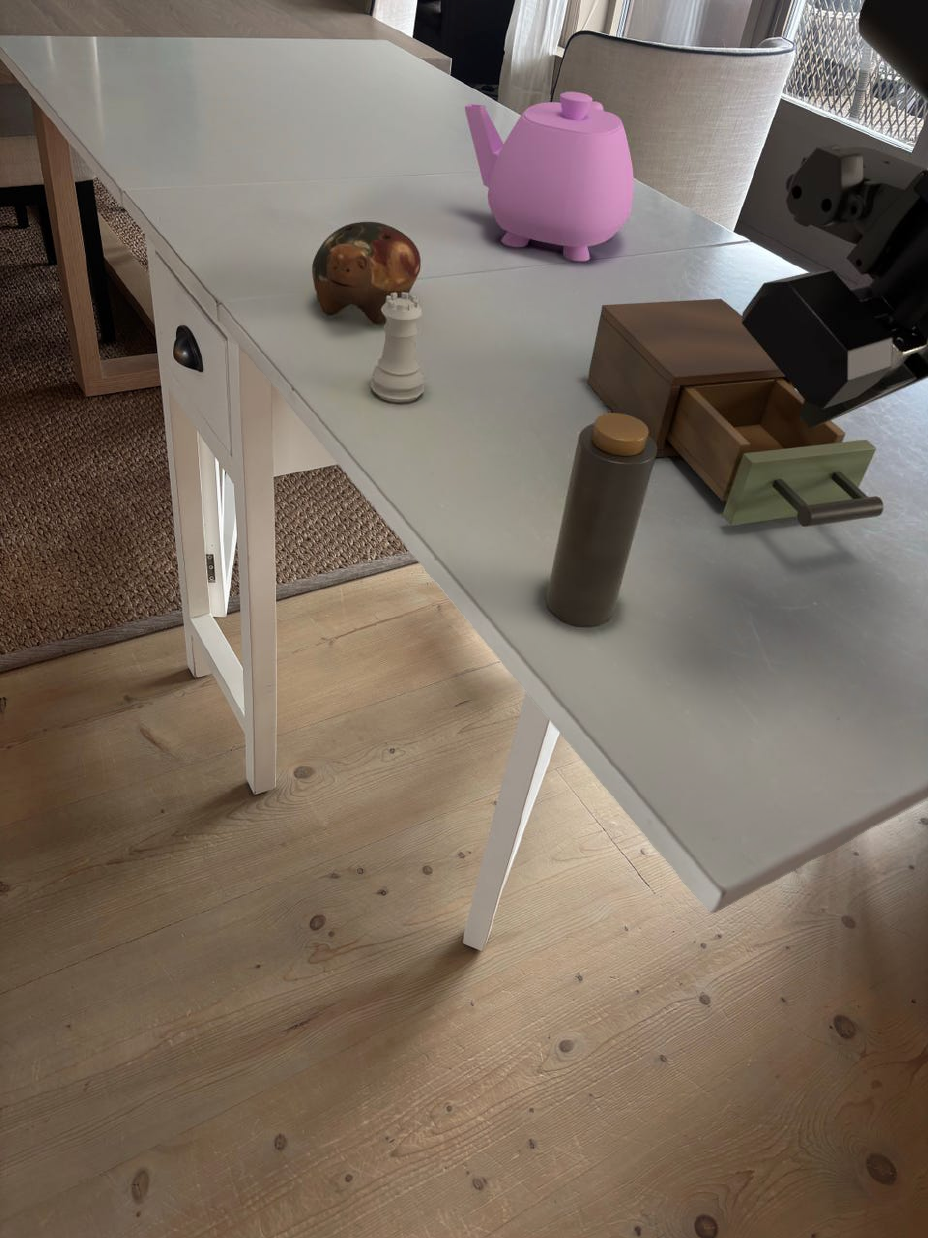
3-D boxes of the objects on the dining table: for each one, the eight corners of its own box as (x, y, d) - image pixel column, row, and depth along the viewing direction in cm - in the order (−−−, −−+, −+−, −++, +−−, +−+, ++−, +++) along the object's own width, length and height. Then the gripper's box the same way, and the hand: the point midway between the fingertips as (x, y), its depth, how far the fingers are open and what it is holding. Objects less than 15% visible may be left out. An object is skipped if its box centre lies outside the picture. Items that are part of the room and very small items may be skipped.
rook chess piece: (383, 408, 76) (387, 314, 71) (362, 382, 79) (364, 290, 74) (433, 400, 78) (440, 307, 73) (410, 375, 81) (416, 284, 76)
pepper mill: (627, 612, 60) (678, 435, 52) (576, 635, 58) (619, 455, 49) (583, 574, 63) (623, 399, 54) (532, 595, 61) (566, 416, 52)
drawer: (889, 547, 67) (920, 484, 63) (766, 566, 64) (791, 502, 60) (765, 429, 78) (786, 371, 74) (655, 441, 75) (671, 380, 71)
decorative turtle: (294, 334, 84) (289, 242, 80) (339, 282, 96) (337, 199, 92) (399, 347, 84) (401, 254, 79) (432, 292, 96) (435, 209, 91)
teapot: (487, 190, 119) (502, 55, 109) (641, 223, 116) (670, 87, 106) (432, 238, 105) (443, 88, 95) (604, 278, 101) (635, 126, 91)
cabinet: (775, 444, 78) (803, 366, 73) (652, 458, 75) (674, 376, 70) (700, 372, 87) (721, 298, 82) (586, 381, 83) (602, 304, 78)
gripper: (1007, 61, 48) (822, 295, 61) (769, 80, 39) (611, 350, 52) (1165, 209, 45) (934, 424, 58) (944, 267, 36) (729, 506, 49)
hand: (807, 421), depth 54 cm, fingers closed
